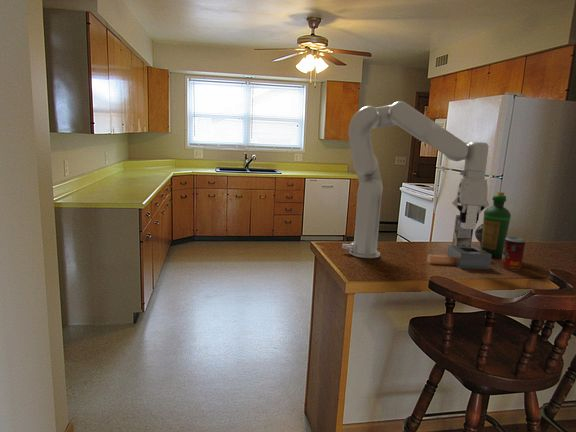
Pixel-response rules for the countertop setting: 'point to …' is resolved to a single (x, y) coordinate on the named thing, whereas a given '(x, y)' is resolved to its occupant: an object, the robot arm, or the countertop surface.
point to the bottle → (495, 226)
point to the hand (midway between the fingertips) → (468, 222)
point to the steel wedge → (470, 217)
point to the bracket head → (463, 257)
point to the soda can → (513, 253)
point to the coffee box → (461, 234)
